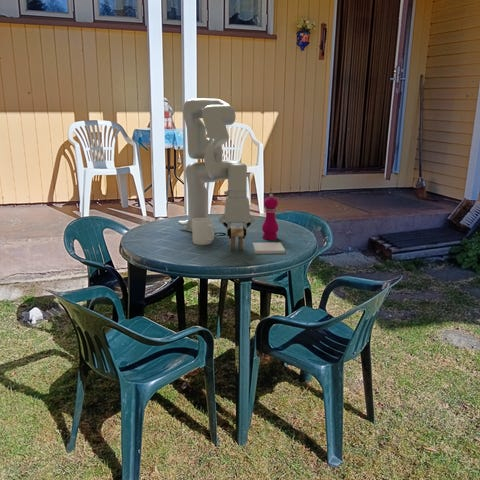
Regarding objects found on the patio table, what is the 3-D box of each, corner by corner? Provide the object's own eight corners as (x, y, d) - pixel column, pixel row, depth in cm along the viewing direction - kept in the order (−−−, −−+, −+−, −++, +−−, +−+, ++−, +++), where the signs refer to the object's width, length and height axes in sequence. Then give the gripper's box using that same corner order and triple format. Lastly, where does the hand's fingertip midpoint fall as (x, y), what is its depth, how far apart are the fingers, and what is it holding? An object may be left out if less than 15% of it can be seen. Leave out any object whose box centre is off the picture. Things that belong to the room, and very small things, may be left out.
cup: (203, 239, 218) (203, 216, 215) (221, 244, 209) (221, 221, 206) (188, 242, 212) (188, 219, 209) (206, 248, 204) (206, 224, 201)
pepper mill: (276, 240, 216) (278, 195, 211) (260, 239, 218) (261, 194, 212) (278, 236, 223) (280, 192, 218) (263, 235, 224) (264, 192, 219)
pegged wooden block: (231, 250, 200) (231, 230, 198) (230, 245, 207) (230, 226, 205) (243, 250, 200) (243, 230, 198) (241, 245, 208) (242, 226, 205)
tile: (255, 253, 197) (255, 250, 196) (252, 245, 208) (252, 242, 208) (285, 253, 198) (285, 250, 197) (280, 245, 209) (280, 242, 209)
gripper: (216, 195, 194) (216, 240, 198) (259, 195, 195) (258, 240, 200) (215, 192, 201) (215, 235, 206) (257, 192, 202) (256, 235, 207)
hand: (236, 237), depth 203 cm, fingers closed on pegged wooden block, 5 cm apart
